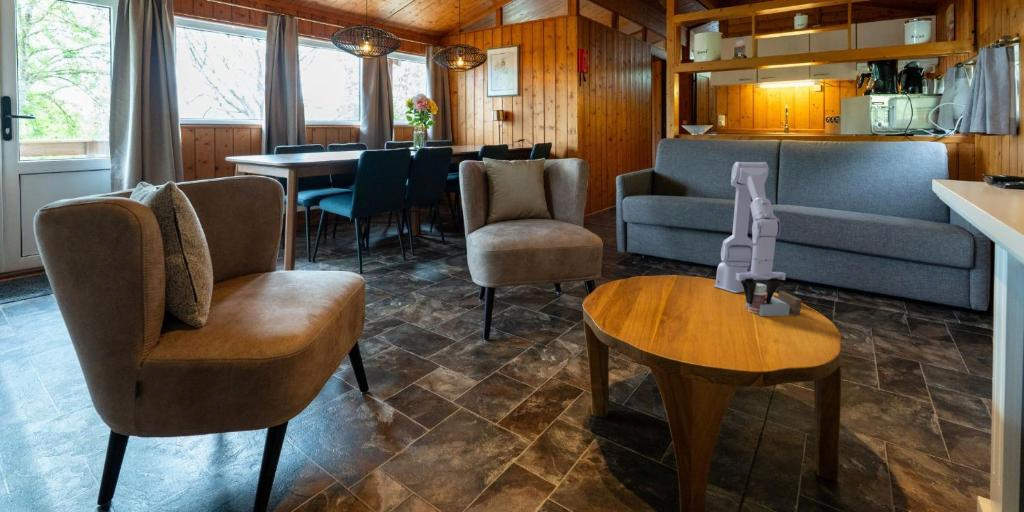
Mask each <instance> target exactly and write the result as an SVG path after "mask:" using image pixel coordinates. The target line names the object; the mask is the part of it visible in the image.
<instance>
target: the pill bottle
mask: <svg viewBox="0 0 1024 512" xmlns="http://www.w3.org/2000/svg"><path fill="white" fill-rule="evenodd" d="M755 283H756V282H755ZM756 284H757V285H756V287H755V290H754V295H753V302H752V304H749V307H748V308H747V311H748V312H750V313H752V314H757V315H759V311H760V305H761V304H766V302H767V292H766V290H767V285H765V284H764V283H759V282H757V283H756Z"/></svg>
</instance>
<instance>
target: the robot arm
mask: <svg viewBox="0 0 1024 512" xmlns="http://www.w3.org/2000/svg"><path fill="white" fill-rule="evenodd" d="M768 177H769V165H768V163H767V162H766V161H756V162H755V161H754V162H753V161H735V163H734V164H733V165H732V167H731V177H730V186H731V187H735V197H734V210H733V212H734V213H733V222H732V235H730V236H729V237H727V238H725V239H723V240H722V244H721V248H720V249H721V250H720V259H721V262H719V264H718V266H717V269H716V277H715V278H716V279H715V284H714V285H713V287H715V288H718V289H721V290H724V291H727V292H731V293H734V294H737V293H743V292H744V295H745V303H746V302H747V303H749V304H752V302H753V295H754V290H755V287H756V285H757V284H756V282H755V281H759V280H760V281H763V284H765V285H767V290H766V292H767V302H766V303H767V304H769V303H770V300H771V298H772V296H773V295H774V294H775V292H776V291H777V289H778V288H779V287H780V285H781V281H786V275H787V273H785V272H783V271H773V266H774V258H775V257H774V256H775V248H776V239H778V238H779V236H780V233H781V222H780V218H777V217H778V216H777V215H775V214H774V210H773V205H772V202H771V200H770V199H768V198H767V197H766V196H767V195H766V189H765V183H766V181H767V179H768ZM751 200H752V201H751ZM750 211H751V216H752V220H753V221H752V224H751V225H752V226H751V235H752V238H749V236H748V235H749V234H748V232H749V222H750V221H749V220H750ZM750 265H751V266H750ZM749 267H750V271H748V268H749ZM779 280H781V281H779ZM773 297H774V296H773Z"/></svg>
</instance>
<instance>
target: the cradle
mask: <svg viewBox="0 0 1024 512" xmlns="http://www.w3.org/2000/svg"><path fill="white" fill-rule="evenodd" d="M748 307H749V303H747V302H746V301H745V308H746V309H748ZM789 309H790V305H789V304H787V303H785V302H783V301H781V300H779V299H778V297H775V296H772V298H771V300H770V303H769V304H767V303H766V304H761V305H760V311H759V314H758V315H759V316H760V317H777V316H780V317H785V316H790V313H789Z"/></svg>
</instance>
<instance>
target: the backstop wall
mask: <svg viewBox="0 0 1024 512" xmlns="http://www.w3.org/2000/svg"><path fill="white" fill-rule="evenodd" d="M777 295H778V296H777V299H779V300H781V301H783V302H785V303H787V304H789V305H790V309H789V315H792V316H794V317H798V316H797V315H801V310H802V309H801V307H802V301H803V300H802V298H799V297H797V296H795V295H793V294H790V293H788V292H786V291H784V290H782V291H781V290H779V291H778V293H777Z"/></svg>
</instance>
